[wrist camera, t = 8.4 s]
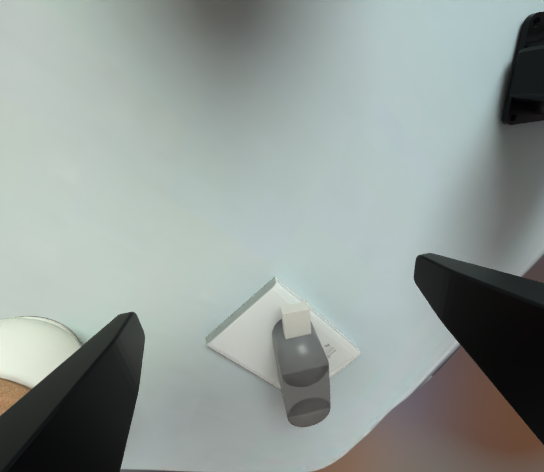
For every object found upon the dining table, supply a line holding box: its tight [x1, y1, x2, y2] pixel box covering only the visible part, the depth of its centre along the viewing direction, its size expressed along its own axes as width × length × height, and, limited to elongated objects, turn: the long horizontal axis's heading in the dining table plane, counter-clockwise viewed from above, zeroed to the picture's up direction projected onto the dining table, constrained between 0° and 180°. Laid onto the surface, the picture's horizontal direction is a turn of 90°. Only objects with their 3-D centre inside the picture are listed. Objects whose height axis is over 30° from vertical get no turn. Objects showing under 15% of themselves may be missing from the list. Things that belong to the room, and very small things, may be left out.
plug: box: [272, 301, 330, 427], centre depth 24 cm, size 14×4×4 cm, turn 6°
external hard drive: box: [206, 277, 360, 389], centre depth 26 cm, size 2×8×12 cm
